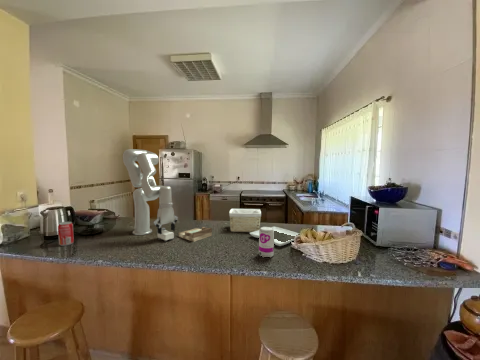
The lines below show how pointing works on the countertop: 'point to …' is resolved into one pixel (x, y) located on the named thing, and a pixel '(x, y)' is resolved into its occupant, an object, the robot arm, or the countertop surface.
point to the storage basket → (245, 220)
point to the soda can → (65, 233)
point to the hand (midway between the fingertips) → (166, 231)
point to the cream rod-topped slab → (165, 235)
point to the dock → (196, 234)
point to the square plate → (280, 230)
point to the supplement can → (266, 242)
